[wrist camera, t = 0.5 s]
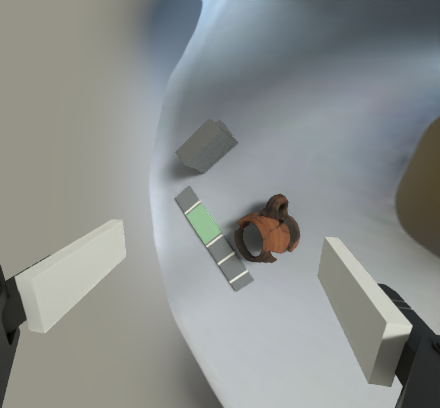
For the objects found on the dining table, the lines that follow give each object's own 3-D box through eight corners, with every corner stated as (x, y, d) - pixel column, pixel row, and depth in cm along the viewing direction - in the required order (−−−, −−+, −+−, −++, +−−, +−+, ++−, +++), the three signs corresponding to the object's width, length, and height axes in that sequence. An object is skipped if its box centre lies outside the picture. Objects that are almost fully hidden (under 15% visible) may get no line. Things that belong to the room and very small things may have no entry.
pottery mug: (296, 265, 39) (264, 279, 34) (257, 239, 45) (225, 248, 40) (316, 200, 35) (284, 205, 30) (270, 182, 41) (237, 184, 36)
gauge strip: (253, 279, 41) (253, 281, 40) (236, 290, 42) (235, 292, 41) (190, 186, 46) (188, 185, 45) (176, 198, 47) (174, 198, 46)
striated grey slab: (238, 142, 42) (222, 129, 35) (203, 173, 45) (182, 167, 37) (223, 123, 43) (205, 107, 36) (190, 154, 46) (167, 145, 38)
